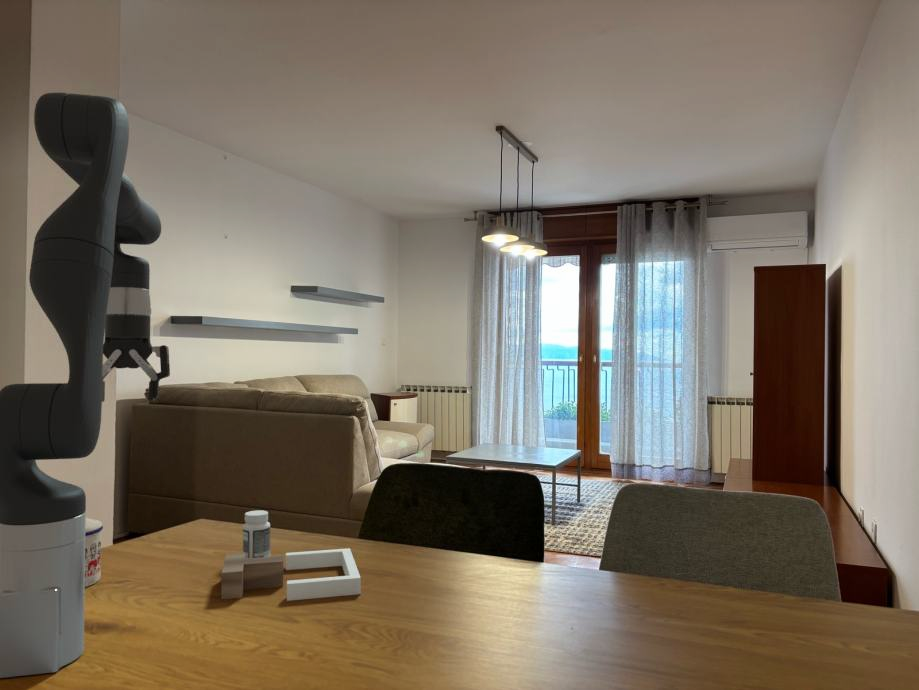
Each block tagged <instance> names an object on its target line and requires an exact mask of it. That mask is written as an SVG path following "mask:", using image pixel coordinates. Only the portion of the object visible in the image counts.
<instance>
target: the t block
mask: <svg viewBox="0 0 919 690" xmlns="http://www.w3.org/2000/svg"><path fill="white" fill-rule="evenodd" d="M279 587H280V588H281V587H282V588H283V587H284V556H283V555H278V556H277V555H276V556H270V557H260V558H246V552H244V553H243V552H233V553H232V552H231V553H226V554H225V558H224V562H223V567H222V570H221V594H220V595H221V597H220V599H221V600H222V599H223V600H233V598H235V599H243V597H242V596H243V595H244V591H246V590H249V591H250V590H259V589H260V590H261V589H271V588H279Z"/></svg>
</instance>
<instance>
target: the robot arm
mask: <svg viewBox="0 0 919 690" xmlns="http://www.w3.org/2000/svg"><path fill="white" fill-rule="evenodd" d="M124 106H125V105H124V104H122V103H121V102H120V101H119V100H118V99H116V98H112V97H108V96H103V95H92V94H81V93H69V92H46V93H44V94H42V95H41V96H39V98H38V99H37V101H36V104H35V107H34V113H33V117H34V118H33V121H34V130H35V134H36V137H37V140H38V141H39V145H40V146H41V148H42V150H43V151H44V153H45V154H46V155H47V156H48V157H49V158H50V159H51V161H53V162H54V163H55V164H56V165H57V166H58V167H59V168H60V169H61V170H62V171H63V172H64V173H65V174H66V175H67V176H69V177H70V178H71V180H73V182H75V183H76V184H77V185H78V187H77V188H76V189H75V190H74V192H72V193H71V194H70V195H69V197H67V198H66V199H65V200H64V201H63V202H62V203H61V204H60V205H58V207H57V208H56V209H55V210H54V211H52V213H51V214H50V215H49V216H47V218H46V219H45V220H44V222H43V223H42V224H41V225H40V227H39V229H38V230H37V232H36V234H35V237H34V242H33V248H32V253H31V254H32V255H31V261H30V262H31V263H30V268H29V275H28V277H29V278H28V279H29V284H30V289H31V292H32V294H33V296H34V298H35V300H36V301H37V303H38V304H39V307H40V308H41V310H42V311H43V313H44V314H45V316H46V317H47V319H48V320H49V322H50V324H51V325H52V326H53V328H54V329H55V331H56V333H57V335H58V336H59V338H60V341H61V343H62V345H63V347H64V349H65V351H66V357H67V361H68V373H69V375H68V381H67V382H65V383H63V382H62V383H59V382H58V383H57V382H56V383H55V382H53V383H50V382H49V383H45V382H43V383H41V382H40V383H37V382H36V383H35V382H33V383H31V382H30V383H12V384H8V385H5V386H4V387H2V388H1V389H0V679H2V678H14V677H23V676H32V675H42V674H49V673H50V674H51V673H55V672H56V673H57V672H58V671H59V670H60V668H62V667H64V666H66V665H68V664H70V663H72V662H74V661H75V660H78V658H80V657H81V656H82V654H83V653H84V651H85V597H86V595H85V590H86V589H85V588H86V587H85V525H86V516H87V513H86V509H87V507H86V506H87V497H86V496H87V495H86V493H85V490H84V489H83V488H82V487H80V486H77V485H76V484H71V483H70V482H69V483H68V482H65V481H61V480H59V479H57V478H54V477H52V476H50V475H48V474H47V473H45V472H44V471H42V470H41V468H39V467H38V464H37V461H43V460H44V461H45V460H47V461H50V460H72V459H73V460H74V459H84V458H86V457H89V456H90V455H91V454H92V453H93V452H94V450H95V449H96V447H97V444H98V440H99V437H100V432H101V431H100V430H101V423H102V407H103V405H102V404H103V402H105V399H106V397H105V396H106V394H105V393H106V389H105V388H106V381H104V380H105V378H106V377H107V376H108V375H109V373H111V371H113V369H114V368H116V369H126V368H127V369H139V368H140V369H141V370H142V371H143V372H144V373H145V374H146V375H147V376H148V378H149V379H150V381H148V402H150V403H151V402H155V401H156V399H158V397H159V395H160V393H159V391H160V389H159V388H160V385H159V383H160V380H163V379H165V378H168V377H170V375H171V370H170V369H171V367H170V365H171V364H170V349H169V346H167V345H164V344H163V345H162V344H161V345H159V346H158V345H157V346H156V345H155V346H152V344H151V314H152V307H151V295H150V279H151V278H150V275H151V274H150V270H151V269H150V263H149V261H148V260H147V259H145V258H143V257H139V256H135V255H131V254H127V253H125V252H124V251H122V247H121V245H141V246H145V245H147V246H148V245H151V244H152V245H153V244H154V243H156V242H157V241H158V240H159V238H160V237H161V234H162V222H161V219H160V216H159V214H158V212H157V211H156V209H155V208H154V207H153V206H152V205H151V204H150V203H148V202H147V201H146V200H145V199H144V198H142V196H140V195H139V194H138V191H137V190H136V187H135V185H134V184H133V181H132V180H131V179H130V177H129V176H128V175H127V174H126V173H125V171H124V170H125V164H126V160H127V155H128V154H127V153H128V149H129V139H130V136H129V135H130V123H129V116H128V112H127V110H126V108H125V107H124ZM153 353H154V354H155V356H156V357H157V358H159V361H160V362H159V363H160V372H157V371H156V369H154V367H153V366H152V364H151V363H150V362H149V361H148V359H149V357H150V356H151V355H152V354H153ZM104 357H105V358H106V359H107V360H106V361H105V362H104Z"/></svg>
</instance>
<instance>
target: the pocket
mask: <svg viewBox="0 0 919 690" xmlns="http://www.w3.org/2000/svg"><path fill="white" fill-rule="evenodd" d="M354 558H355V557H354V556H353V553H352V551H351V548H349V547H347V548H338V549H337V548H336V549H335V548H334V549H323V550H307V551H295V552H292V551H291V552H285V571H292V570H293V571H294V570H295V571H296V570H304V569H305V570H306V569H319V568H331V567H341V568H342V571H343V573H344V575H340V576H329V577H316V578H304V579H303V578H302V579H291V580H286V602H289V601H299V600H310V599H321V598H322V599H323V598H333V597H334V598H335V597H342V596H343V597H344V596H345V597H346V596H354V595H361V592H362V588H361V586H362V585H361V584H362V583H361V582H362V579H361V575H360V571H359V569H358V567H357V564H356V561H355V559H354Z"/></svg>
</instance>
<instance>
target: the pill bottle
mask: <svg viewBox="0 0 919 690" xmlns="http://www.w3.org/2000/svg"><path fill="white" fill-rule="evenodd" d="M244 522H245V523H244V524H243V526H242V553H244V552H246V558H260V557H271V523H270V522H269V512H268V511H267V510H262V509H261V510H250V511H247V512H245V513H244Z"/></svg>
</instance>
